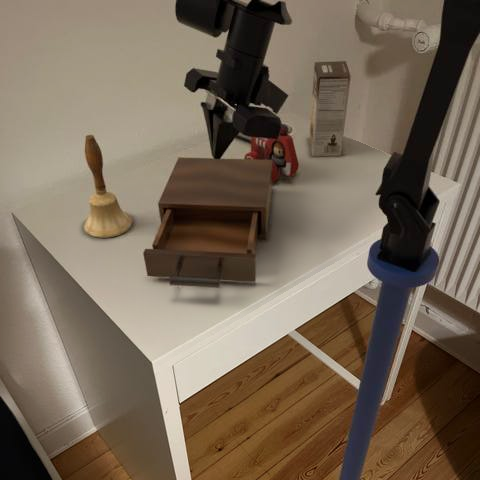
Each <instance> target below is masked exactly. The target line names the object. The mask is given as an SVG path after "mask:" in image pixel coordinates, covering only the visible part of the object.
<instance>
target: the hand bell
mask: <svg viewBox="0 0 480 480" xmlns="http://www.w3.org/2000/svg"><path fill="white" fill-rule="evenodd" d="M84 138H85V142H84V156H85V161H86V163H87V166H88V169H89V170H90V172H91V174H92V177H93V183H94V189H95V193H94V194H92V195H91V196H90V197H89V216H88V218H86V221H85V222H84V226H83V228H84V232H85V233H86V234H88V235H89V236H91V237H94V238H101V239H103V238H105V239H108V238H113V237H114V238H115V237H118V236H120V235H123V234H124V233H126V232H128V231H129V230H130V229H131V227H132V226H133V218H132V217H131V216H130V215H129V214H128V213H127V212H125V211H123V209H122V208H121V206H120V204H119V201H118V199H117V196H116V194H115V193H113V192H110V191H107V186H106V182H105V179H104V175H103V169H104V159H103V153H102V149H101V147H100V144H99V143H98V142H97V140H96V139H95V138H96V137H95V135H93V134H88V135H86V136H85V137H84Z"/></svg>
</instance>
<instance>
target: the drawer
mask: <svg viewBox="0 0 480 480" xmlns="http://www.w3.org/2000/svg"><path fill="white" fill-rule="evenodd" d="M259 219H260V211H237V210H211V209H185V208H167V210H166V213H165V215H164V217H163V220H162V222H161V221H160V225H159V227H158V230H157V231H156V235H155V237H154V239H153V241H152V244H151V247H152V248H145V249H144V251H143V259H144V264H145V271H146V276H147V277H153V278H169V285H170V286H175V287H176V286H177V287H178V286H179V287H197V288H212V289H219V288H220V287H221V281H230V282H231V281H232V282H250V283H256V280H257V254H256V249H257V242H258V239H257V236H258V230H259V223H260V220H259Z"/></svg>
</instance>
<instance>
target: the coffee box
mask: <svg viewBox="0 0 480 480" xmlns="http://www.w3.org/2000/svg"><path fill="white" fill-rule="evenodd" d="M313 68H314V70H313V80H312V82H313V83H312V95H311V96H312V97H311V110H310V122H309V123H310V124H309V143H310V150H311V156H312V157H341V156H342V150H343V142H344V133H345V124H346V116H347V110H348V109H347V108H348V104H349V103H348V102H349V94H350V87H351V86H350V85H351V78H352V76H351V72H350V70H349V67H348V64H347V62H346V60H337V61H336V60H335V61H315V62H314V66H313Z"/></svg>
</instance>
